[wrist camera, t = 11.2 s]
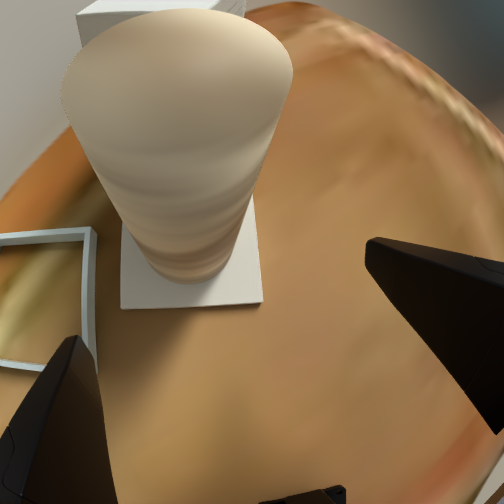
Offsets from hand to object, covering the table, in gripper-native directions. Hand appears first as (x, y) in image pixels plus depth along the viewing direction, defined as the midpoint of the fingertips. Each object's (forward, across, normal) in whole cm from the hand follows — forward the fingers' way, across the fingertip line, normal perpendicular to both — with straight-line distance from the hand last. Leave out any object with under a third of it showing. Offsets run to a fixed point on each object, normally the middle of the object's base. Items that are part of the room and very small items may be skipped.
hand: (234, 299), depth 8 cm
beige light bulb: (+12, 0, +3) cm, 12 cm away
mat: (+12, 0, +4) cm, 13 cm away
